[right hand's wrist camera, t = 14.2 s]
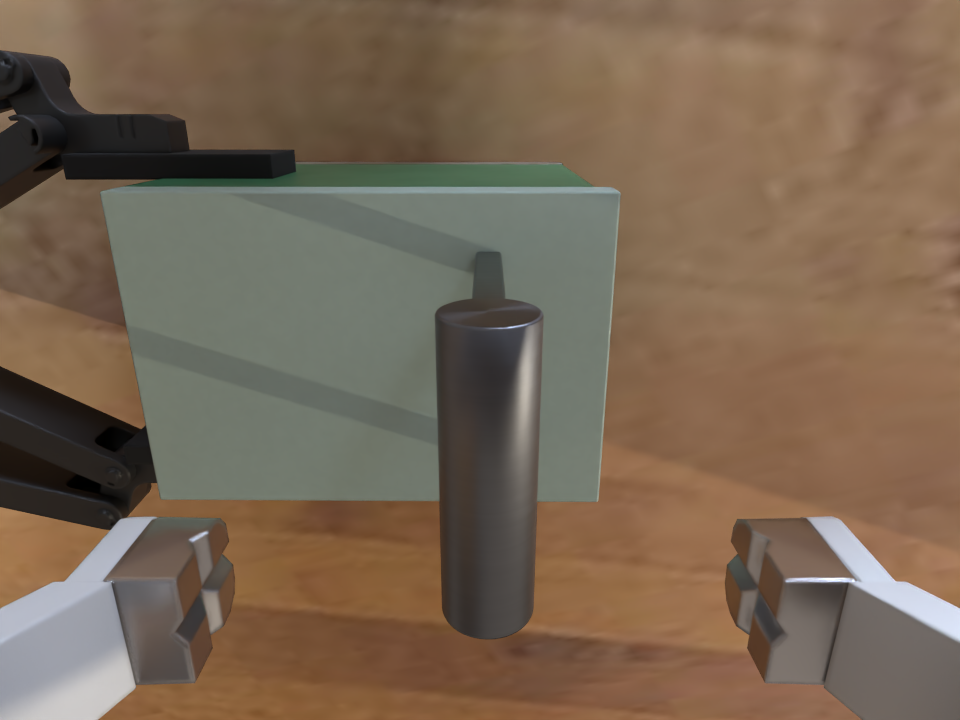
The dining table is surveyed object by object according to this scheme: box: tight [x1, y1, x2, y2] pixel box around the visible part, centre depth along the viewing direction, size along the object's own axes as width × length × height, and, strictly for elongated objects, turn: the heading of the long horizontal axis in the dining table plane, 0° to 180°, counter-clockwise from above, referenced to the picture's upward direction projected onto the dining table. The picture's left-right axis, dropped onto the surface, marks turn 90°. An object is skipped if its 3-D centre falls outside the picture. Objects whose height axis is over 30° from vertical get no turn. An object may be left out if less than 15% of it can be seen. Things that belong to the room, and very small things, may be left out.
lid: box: [100, 187, 621, 639], centre depth 16 cm, size 14×9×8 cm
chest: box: [125, 162, 594, 187], centre depth 25 cm, size 13×10×10 cm
